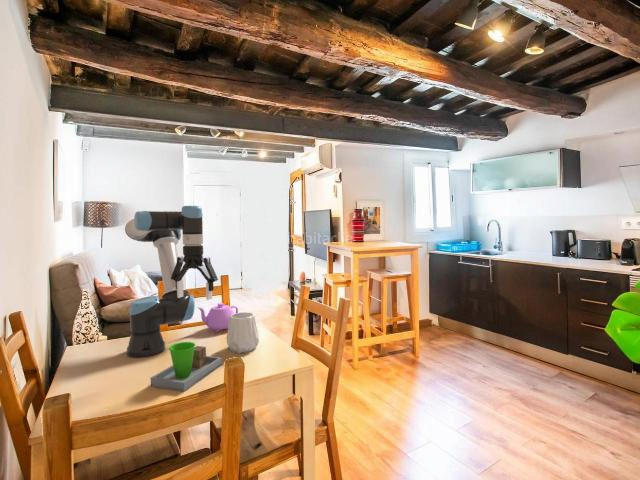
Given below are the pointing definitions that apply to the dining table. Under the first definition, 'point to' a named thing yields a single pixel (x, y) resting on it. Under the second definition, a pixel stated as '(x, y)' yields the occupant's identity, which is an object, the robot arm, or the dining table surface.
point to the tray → (171, 382)
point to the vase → (242, 332)
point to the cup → (182, 358)
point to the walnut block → (199, 357)
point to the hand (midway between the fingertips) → (194, 298)
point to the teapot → (218, 317)
